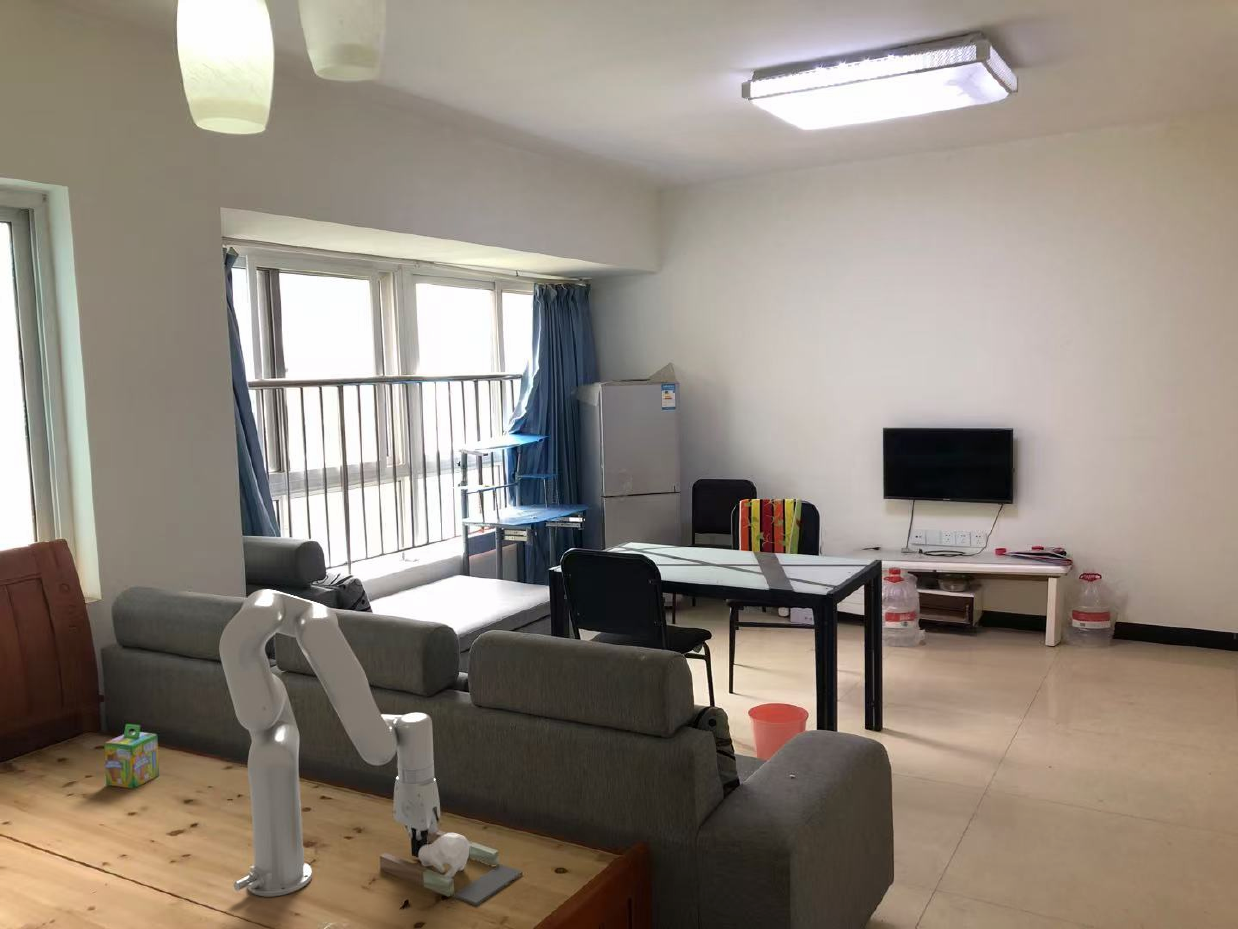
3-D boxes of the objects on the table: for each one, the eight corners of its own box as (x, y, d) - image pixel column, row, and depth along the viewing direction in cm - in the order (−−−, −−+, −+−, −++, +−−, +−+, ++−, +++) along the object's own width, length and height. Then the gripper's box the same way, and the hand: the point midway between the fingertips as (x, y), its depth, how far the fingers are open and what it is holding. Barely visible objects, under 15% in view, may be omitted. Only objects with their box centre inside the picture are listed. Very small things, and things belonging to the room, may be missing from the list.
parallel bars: (448, 896, 190) (448, 882, 190) (380, 869, 201) (379, 856, 201) (498, 864, 202) (498, 851, 202) (431, 840, 214) (431, 827, 213)
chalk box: (105, 786, 247) (101, 730, 246) (133, 772, 256) (129, 718, 254) (134, 790, 244) (130, 733, 243) (161, 775, 253) (157, 721, 252)
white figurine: (451, 843, 194) (407, 835, 200) (456, 883, 194) (412, 875, 200) (471, 830, 200) (427, 823, 206) (475, 869, 200) (432, 861, 206)
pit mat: (476, 906, 187) (476, 903, 187) (454, 897, 190) (453, 894, 190) (522, 874, 198) (522, 871, 198) (500, 866, 201) (500, 864, 201)
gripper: (378, 771, 205) (382, 852, 206) (428, 786, 196) (432, 871, 198) (404, 759, 211) (408, 838, 213) (454, 773, 203) (457, 855, 204)
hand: (419, 854), depth 205 cm, fingers closed
